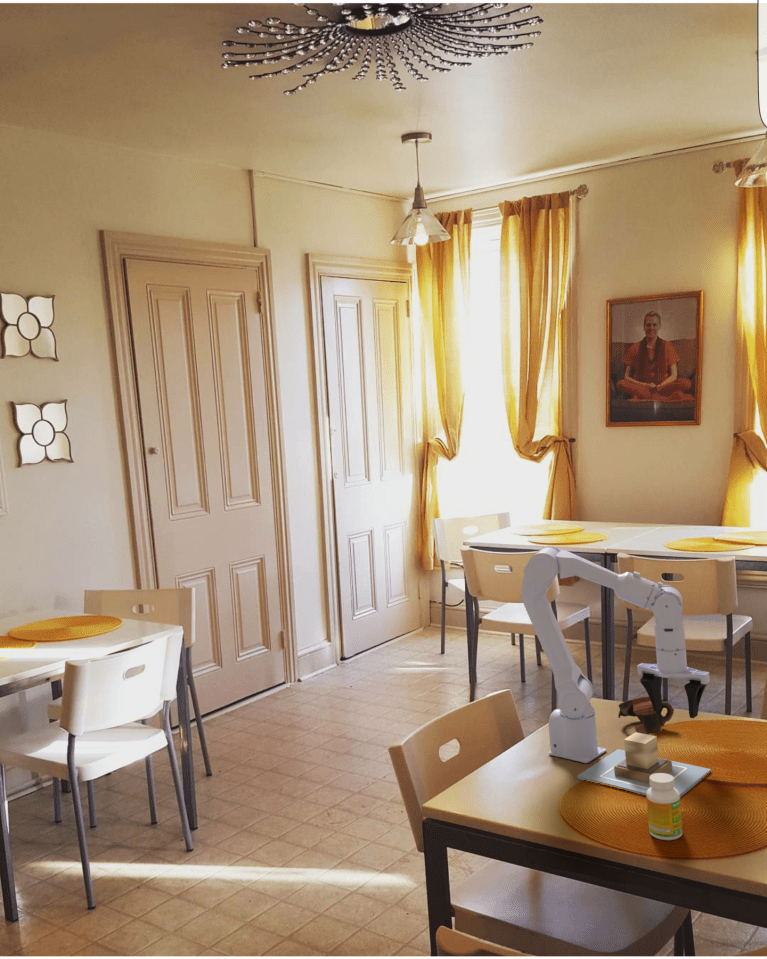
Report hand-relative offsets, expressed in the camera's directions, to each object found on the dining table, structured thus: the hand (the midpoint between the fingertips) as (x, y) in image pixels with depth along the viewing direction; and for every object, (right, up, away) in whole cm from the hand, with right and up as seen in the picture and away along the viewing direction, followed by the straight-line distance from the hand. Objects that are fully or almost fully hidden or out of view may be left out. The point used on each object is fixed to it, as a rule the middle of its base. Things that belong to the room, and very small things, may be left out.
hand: (675, 713), depth 176 cm
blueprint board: (-8, -11, -6) cm, 15 cm away
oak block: (-9, -8, -6) cm, 13 cm away
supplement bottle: (-11, -13, -29) cm, 34 cm away
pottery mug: (0, -9, +19) cm, 20 cm away
